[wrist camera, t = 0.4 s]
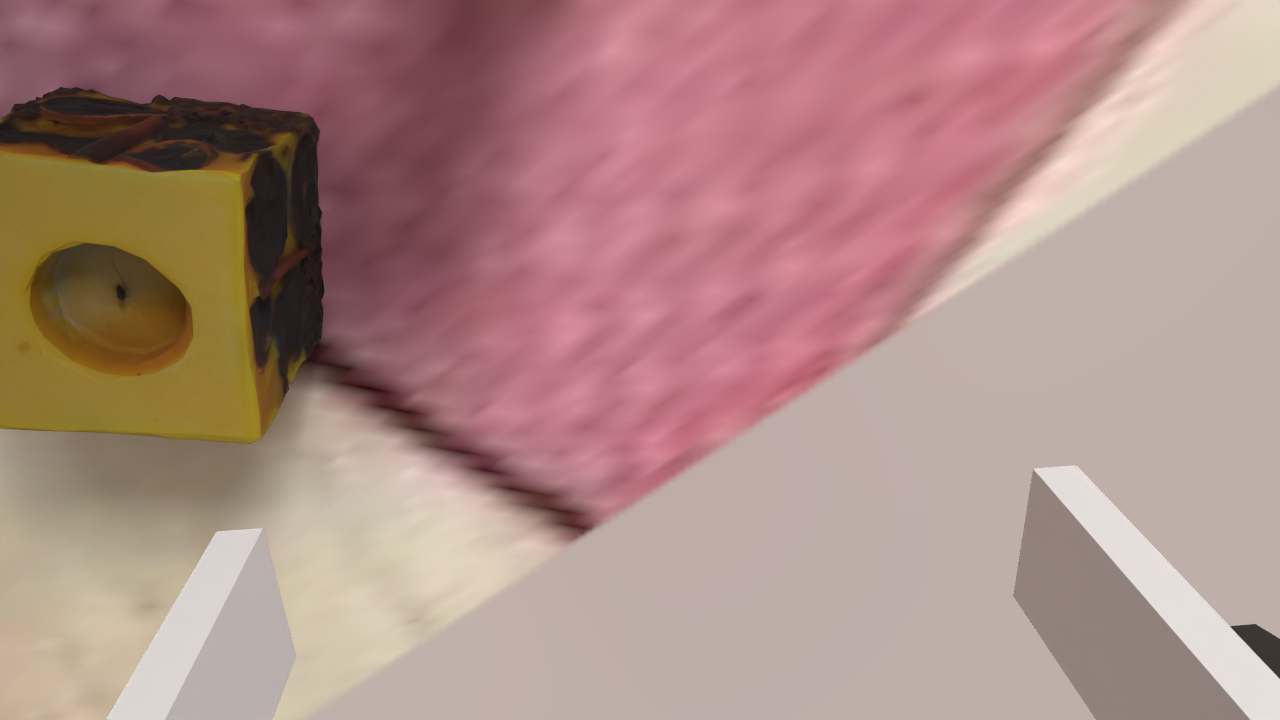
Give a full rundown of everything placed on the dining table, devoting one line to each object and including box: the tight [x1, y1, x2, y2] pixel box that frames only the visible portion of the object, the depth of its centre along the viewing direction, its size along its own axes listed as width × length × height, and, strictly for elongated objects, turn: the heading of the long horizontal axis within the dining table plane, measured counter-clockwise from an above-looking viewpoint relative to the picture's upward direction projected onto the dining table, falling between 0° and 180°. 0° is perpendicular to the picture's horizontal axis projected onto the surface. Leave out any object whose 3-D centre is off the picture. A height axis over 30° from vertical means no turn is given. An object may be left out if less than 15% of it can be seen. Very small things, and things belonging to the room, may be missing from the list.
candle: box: [0, 87, 324, 443], centre depth 35 cm, size 10×10×10 cm
